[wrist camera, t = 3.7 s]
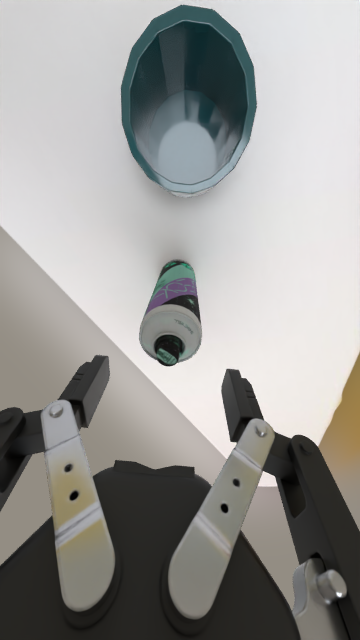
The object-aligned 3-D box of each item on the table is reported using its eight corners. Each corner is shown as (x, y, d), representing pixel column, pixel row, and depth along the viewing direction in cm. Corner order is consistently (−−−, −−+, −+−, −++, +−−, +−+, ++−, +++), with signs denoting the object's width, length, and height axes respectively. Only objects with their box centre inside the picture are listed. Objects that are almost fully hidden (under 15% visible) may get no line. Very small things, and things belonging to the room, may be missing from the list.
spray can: (193, 293, 34) (202, 385, 16) (161, 292, 34) (134, 383, 16) (195, 259, 31) (208, 327, 14) (160, 258, 31) (127, 325, 14)
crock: (143, 192, 27) (123, 185, 18) (145, 78, 22) (118, -7, 13) (220, 201, 27) (237, 199, 18) (240, 92, 22) (275, 18, 13)
